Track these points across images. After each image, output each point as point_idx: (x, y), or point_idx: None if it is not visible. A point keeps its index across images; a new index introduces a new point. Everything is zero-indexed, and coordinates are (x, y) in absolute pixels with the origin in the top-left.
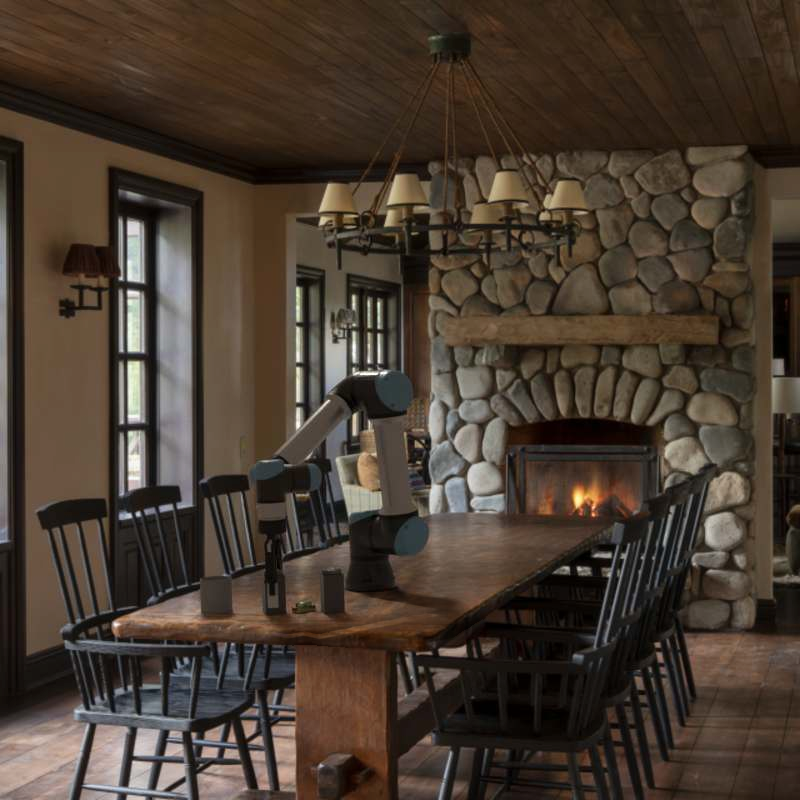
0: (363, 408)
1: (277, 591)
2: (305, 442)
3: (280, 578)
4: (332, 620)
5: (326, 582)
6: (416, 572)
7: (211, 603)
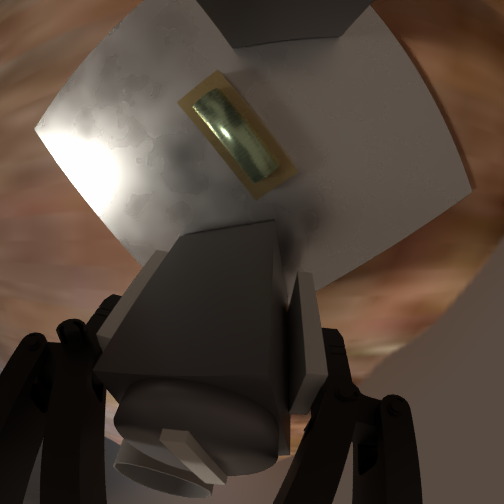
0: None
1: (321, 331)
2: None
3: (276, 380)
4: (387, 21)
5: None
6: None
7: None
